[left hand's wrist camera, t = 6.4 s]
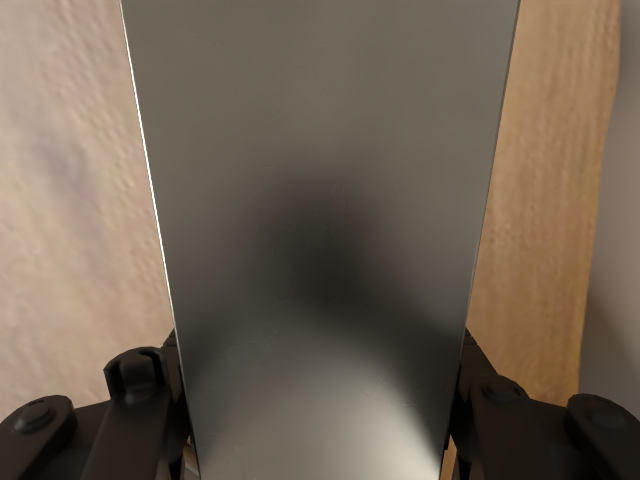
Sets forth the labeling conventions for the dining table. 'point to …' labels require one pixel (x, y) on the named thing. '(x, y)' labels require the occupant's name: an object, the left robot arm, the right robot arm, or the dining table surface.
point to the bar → (319, 219)
